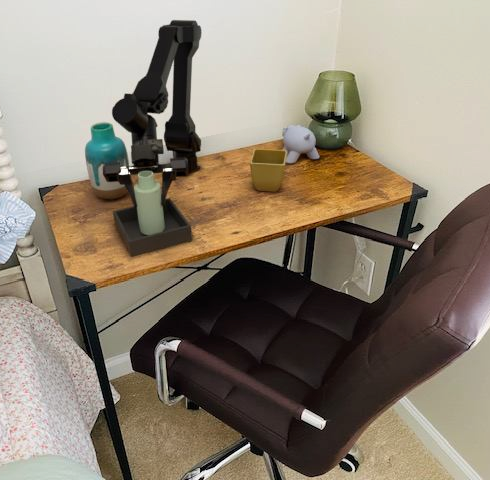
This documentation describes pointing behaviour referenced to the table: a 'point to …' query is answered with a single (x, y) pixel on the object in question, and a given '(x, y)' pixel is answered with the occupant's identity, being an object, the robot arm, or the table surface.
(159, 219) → the bottle
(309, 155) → the hippopotamus toy
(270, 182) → the flower pot
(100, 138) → the vase
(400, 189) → the table surface
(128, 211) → the bin
